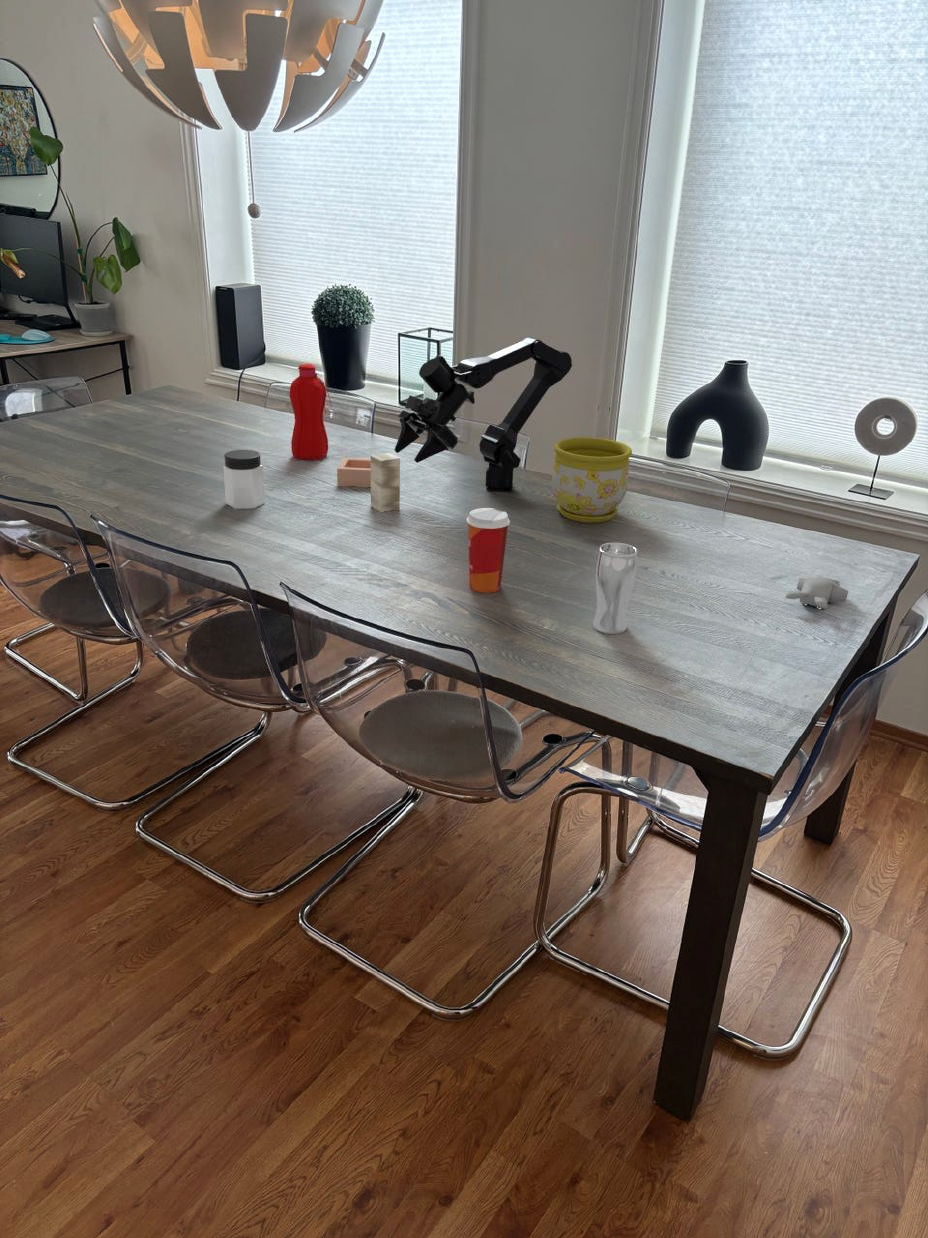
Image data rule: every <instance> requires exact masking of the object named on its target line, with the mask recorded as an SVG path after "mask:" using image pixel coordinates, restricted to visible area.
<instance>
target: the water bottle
mask: <svg viewBox="0 0 928 1238" xmlns="http://www.w3.org/2000/svg"><path fill="white" fill-rule="evenodd" d="M297 370H298V373H299V375H298V376H297V377H296V378H295V379H293V380H292V381H291V384H290V385H289V386H290V387H289V392H288V393H289V400H290V403H291V408H292V410H293V411H292V412H293V415H294V425H293V429H292V436H291V442H290V443H291V444H290V445H291V447H290V448H291V454H292V457H294V458H295V459H298V460H309V461H320V460H322V459H324V458H325V456H327V455H328V452H329V439H328V434H327V431H326V426H325V422H324V413H325V414H326V415H327V416H330V415H331V414H332V412H330V413H329V414H328V413H327V412H326V410H325V408H326V399H327V396H328V399H329V404H330V406H332V403H331V399H330V394H329V391H328V389H327V387H326V383H325V382H324V381H323V380H322V379H321V377H319V376H318V373H317V372H316V366H315V365H314V364H312V363H303V364H299V365H298V367H297Z"/></svg>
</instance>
